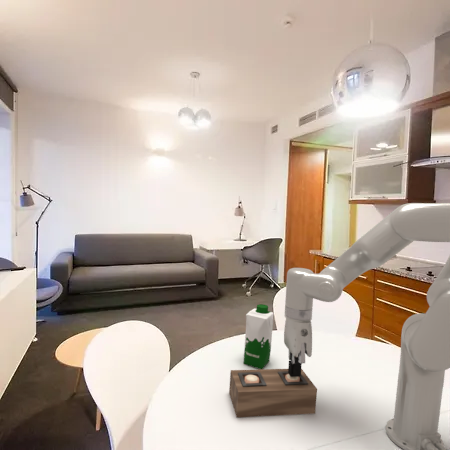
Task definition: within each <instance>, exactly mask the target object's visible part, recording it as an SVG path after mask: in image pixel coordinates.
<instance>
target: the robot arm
mask: <svg viewBox="0 0 450 450" xmlns="http://www.w3.org/2000/svg"><path fill="white" fill-rule="evenodd" d="M413 242H428V243H430V242H431V243H450V202H446V203H445V202H443V203H441V202H439V203H437V202H435V203H433V202H432V203H431V202H430V203H429V202H428V203H427V202H424V203H422V202H411V203H404V204H402V205H399V206H398V207H397V208H395V209H393V211H391V212H390V213H389V214H387V215H386V216H385V217H384V218H383V219H382V220H380V221H379V222H378V223H377V224H376V225H375V226H373V227H372V228H371V229H370V230H368V231H367V232H366V233H365V234H363V236H361V237H360V238H359V239H357V240H356V241H355V242H354V243H353V244H352V245H351V246H350V247H348V248H347V250H345V251H344V252H343V253H341V254H340V256H338V257H337V258H335V259H334V260H333V261H332V262H331V263H329V264H328V265H327V266H326V267H325V268H323V269H322V270H321V271H320V272H319V273H315V272H313V271H312V269H309V268H305V267H304V268H303V267H292V268H289V269H288V270H287V272H286V287H285V288H286V289H285V300H284V302H285V303H284V305H285V306H284V318H285V320H284V321H285V322H284V333H283V343H284V346H286V348H287V349H288V367H287V369H288V374H289V375H290V377H300V376H301V369H302V364H306V356H307V357H309V358H312V355H313V353H312V352H313V326H312V320H313V306H314V304H313V303H314V300H316V301H317V300H318V301H321V302H324V303H334V302H336V301H337V300H338V299H339V298H340V297H341V296H342V293H343V290H344V288H346V287H347V286H348V285H349V284H351V283H352V282H353V281H354V280H356V278H358V277H360V276H361V275H362V274H364V273H366V272H368V271H369V270H374V269H376V268H379V267H381V266H383V265H385V264H386V263H387V262H388V261H390V260H391V259H392V258H394V257H395V256H396V255H397V254H399V253H401V251H402V250H403V249H405V248H406V247H408V246H409V245H410V244H412V243H413ZM429 286H430V287H429V288H428V289H427V290H428V291H426V301H427V304H428V306H429V307H428V309H427V310H426V312H425V313H423V312H422V313H416V314H412V315H411V316H409V317H408V318H407V319H406V320H405V321H404V322H403V325H402V327H401V328H402V329H401V337H400V356H399V358H400V359H399V368H398V377H397V385H396V394H395V395H396V396H395V403H394V411H393V412H394V414H393V418H391V419H389V420H388V421H387V422H386V424H385V431H386V434H387V437H388V438H389V439H390V440H391V441H392V442H393V443H394V444H395V445H396V446H398V447H399V448H401V449H402V450H448V449H447V448H446V447H445V446H444V445H445V444H444V442H443V440H442V437H441V436H442V434H440V433H439V432H438V431H439V425H440V424H439V423H440V414H441V406H442V398H443V392H444V391H443V390H444V389H443V388H444V383H445V374H446V373H445V372H446V371H447V370H448V369H449V370H450V255H449V256H448V258H447V260H446V262H445V264H444V265H443V266H442V268H441V270H440V272H439V274H437V276H436V277H435V279H434V280H433V282H432V284H431V285H429Z"/></svg>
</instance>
